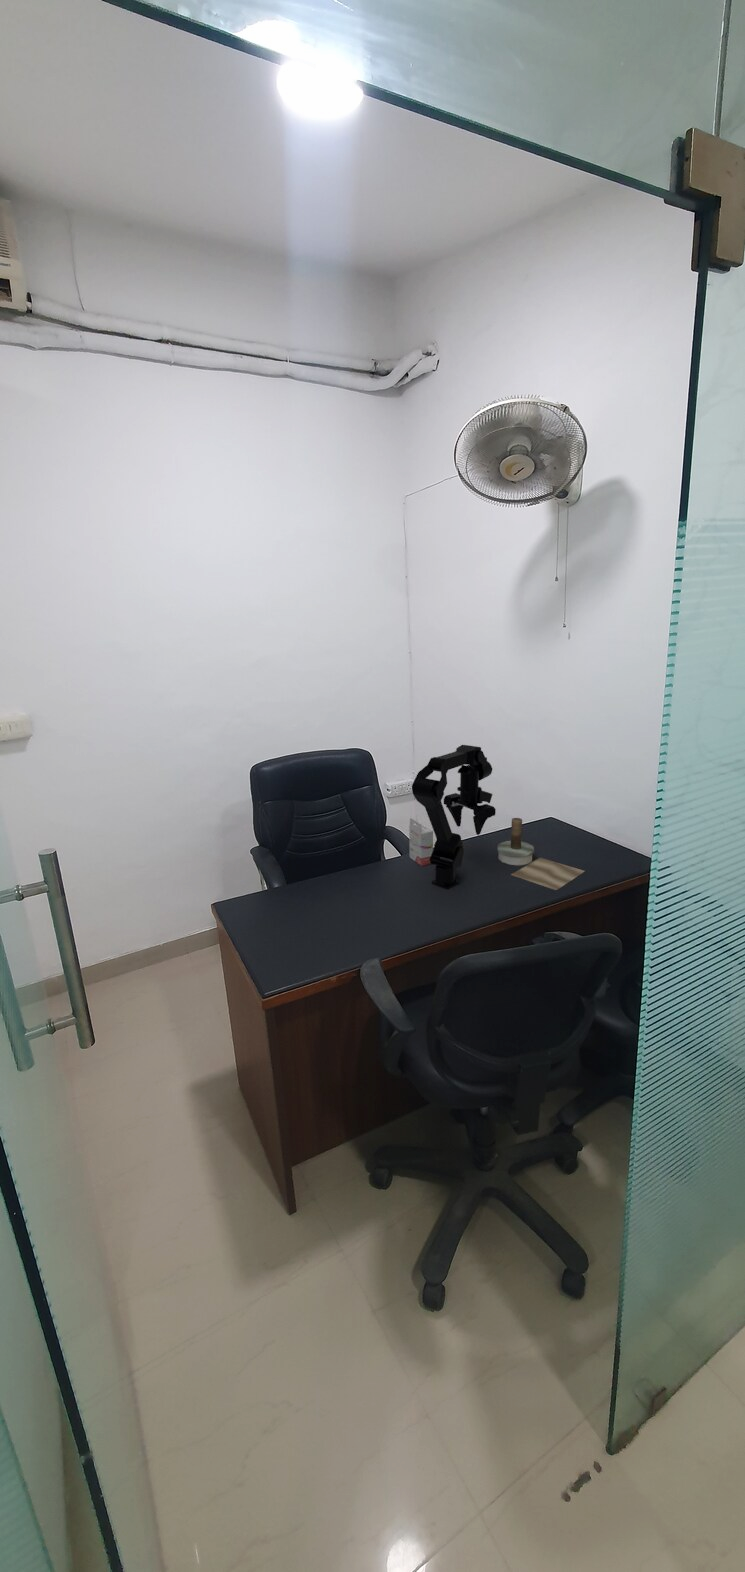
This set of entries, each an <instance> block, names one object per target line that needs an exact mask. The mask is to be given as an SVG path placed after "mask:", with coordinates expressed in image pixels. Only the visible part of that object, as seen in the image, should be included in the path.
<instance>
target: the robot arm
mask: <svg viewBox="0 0 745 1572" xmlns="http://www.w3.org/2000/svg"><path fill="white" fill-rule="evenodd" d="M458 767H460V768H458ZM454 768H458V770H457V774H460V777H459V778H460V779H459V781H460V782H459V783H460V784H459V786H458V787H457V789H456V790H457V791H458V792H459V793H456V792H455V793H451V794H446V795H445V790H446V787H447V785H448V779H447V774H448V772H449V770H452V769H454ZM434 772H439V773H440V774H441V776H440V779H439V780H437V779H431V778H428V777H430V776H431V775H432V774H433V773H434ZM492 773H493V767H492V765H491V763H490V762H489V761H488V757H486V756H485V754H484V752H483V750H482V747H481V746H476V745H475V746H474V745H467V744H460V746H458V747H456V749H455V751H453V752H449V753H446V754H443V755H440V756H434V757H431V758H430V759H429V761H428V763H427V765H425V766H424V767H423V768H421V770H420V771H418V772H417V774H416V776H415V778H414V780H413V782H412V785H411V791H412V795H413V796H414V799H415V800H416V802H418V803H419V804H420V805H422V806H423V807H424V808H425V811H426V813H427V817H428V819H429V822H430V824H431V827H432V831H433V834H434V835H435V838H436V840H435V843H433V852H432V855H431V857H430V864H429V865H433V866H435V879H433V880H432V881H431V883H432V884H434V885H436V886H438V887H440V888H443V889H446V890H448V889H450V888H452V887H454V886H456V885H458V884H460V883H461V881H460V880H459V879H457V869H458V868H460V867H461V866H462V863H463V860H464V859H463V857H464V852H465V848H464V842H463V841H462V835H461V834H459V833H454V832H452V829H451V826H450V824H449V821H448V817H447V815H446V811H445V809H444V806H443V805H445V807H446V808H447V810H448V811H449V813H450V814H451V816H452V818H453V821H454V823H455V824H456V826H457V828H458V827H461V826H462V825H461V824H462V811H463V809H464V808H466V809H470V810H472V811H473V814H474V815H473V816H472V819H473V824H474V830H475V833H476V835H477V836H479V835H481V832H482V829H483V827H484V825H485V823H486V821H487V820H488V819H489V818H492V817H494V816H496V808H495V807H494V806H493V805H490V803H491V800H492V797H493V793H492V792H487V791H485V790H483V788H482V787H481V786H479V782H480V781H482V780H484V779H486V778H488V777H489V776H491V775H492ZM444 795H445V796H444ZM442 799H443V804H442ZM483 802H485V804H483ZM486 803H487V804H486Z"/></svg>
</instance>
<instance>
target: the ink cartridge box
mask: <svg viewBox="0 0 745 1572" xmlns="http://www.w3.org/2000/svg"><path fill="white" fill-rule="evenodd" d="M408 827H409V828H408V830H409V834H408V835H409V839H408V840H409V858H410V859H411V860H412V861H414V862H416V864H418V865H419V866H421V867H422V866H426V865H427V866H428V865H431V864H430V857H431V855H432V852H433V850H434V830H433V829H431V828H429V827H428V826H426V825H424V824H423V823H419V822H418V821H417V820H415V819H414V818H412V817H410V818H409V825H408Z"/></svg>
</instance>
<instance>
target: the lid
mask: <svg viewBox="0 0 745 1572" xmlns="http://www.w3.org/2000/svg"><path fill="white" fill-rule="evenodd" d="M510 826H511V827H510V832H511V833H510V840H506V841H503V842H500V843H498V845H497V852H498V854H499V853H501V854H503V855H505V856H509V857H518V858H519V857H528V856H530V855H532V856H533V855H534V853H535V847H534V845H532V844H530V843H528V842H526V841H522V833H523V832H522V831H523V818H519V817H513V818H511V825H510Z"/></svg>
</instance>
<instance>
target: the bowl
mask: <svg viewBox="0 0 745 1572" xmlns="http://www.w3.org/2000/svg"><path fill="white" fill-rule="evenodd" d="M497 859H498V860H499V861H501V862H502V863H504V864H507V865H511V866H512V865H513V866H524V865H525V866H526V865H528V864H530V863H532V862H533V854H532V855H530V856H528V857H519V858H518V857H509V856H505V855H503V854H501V853H499V852H498V858H497Z"/></svg>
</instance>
